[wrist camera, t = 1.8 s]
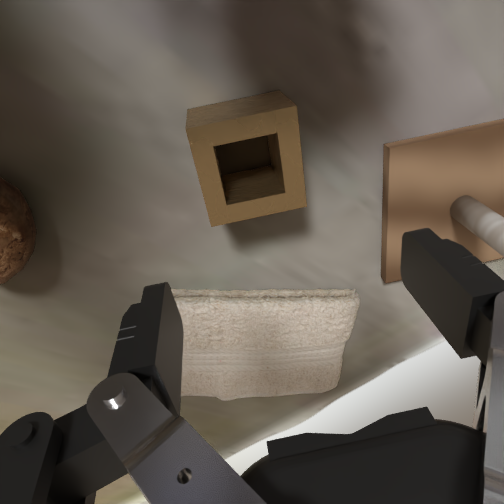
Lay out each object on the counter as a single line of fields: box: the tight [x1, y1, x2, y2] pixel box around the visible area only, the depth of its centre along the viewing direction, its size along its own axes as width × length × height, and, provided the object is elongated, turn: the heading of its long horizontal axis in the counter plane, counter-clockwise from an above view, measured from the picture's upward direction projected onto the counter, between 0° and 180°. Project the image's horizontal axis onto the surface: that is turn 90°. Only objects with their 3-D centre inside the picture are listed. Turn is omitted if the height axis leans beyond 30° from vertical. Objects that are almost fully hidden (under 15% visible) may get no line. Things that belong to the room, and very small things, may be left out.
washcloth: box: [171, 289, 360, 401], centre depth 34 cm, size 12×18×3 cm, turn 86°
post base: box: [381, 119, 504, 283], centre depth 27 cm, size 12×12×7 cm
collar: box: [186, 90, 307, 227], centre depth 24 cm, size 6×6×5 cm
